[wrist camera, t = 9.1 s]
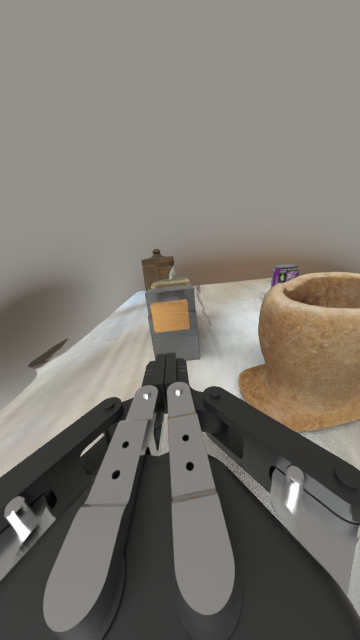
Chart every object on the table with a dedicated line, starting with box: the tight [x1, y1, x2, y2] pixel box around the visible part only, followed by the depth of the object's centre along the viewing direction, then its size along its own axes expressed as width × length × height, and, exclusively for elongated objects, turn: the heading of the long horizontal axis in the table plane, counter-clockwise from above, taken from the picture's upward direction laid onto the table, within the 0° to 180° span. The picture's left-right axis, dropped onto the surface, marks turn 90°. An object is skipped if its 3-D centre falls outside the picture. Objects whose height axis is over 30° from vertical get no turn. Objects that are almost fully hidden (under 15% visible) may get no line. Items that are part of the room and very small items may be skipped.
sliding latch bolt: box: [150, 299, 190, 333], centre depth 32 cm, size 18×5×4 cm, turn 2°
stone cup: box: [238, 272, 360, 432], centre depth 18 cm, size 15×12×15 cm
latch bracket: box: [145, 277, 200, 361], centre depth 37 cm, size 16×8×13 cm, turn 2°
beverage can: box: [271, 264, 299, 288], centre depth 55 cm, size 7×7×12 cm
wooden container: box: [142, 249, 176, 292], centre depth 82 cm, size 15×15×22 cm
